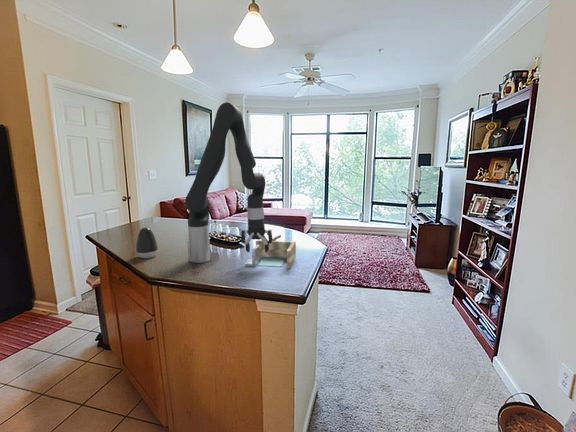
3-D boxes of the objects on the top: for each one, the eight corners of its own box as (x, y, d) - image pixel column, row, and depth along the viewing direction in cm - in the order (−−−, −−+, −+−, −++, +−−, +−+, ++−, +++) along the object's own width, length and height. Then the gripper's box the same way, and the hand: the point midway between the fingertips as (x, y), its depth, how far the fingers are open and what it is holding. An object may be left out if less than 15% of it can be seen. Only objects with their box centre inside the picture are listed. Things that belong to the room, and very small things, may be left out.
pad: (257, 265, 132) (257, 265, 132) (262, 259, 141) (262, 259, 141) (281, 266, 130) (281, 266, 130) (284, 260, 139) (284, 260, 139)
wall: (263, 262, 149) (285, 243, 148) (252, 250, 149) (274, 230, 148) (267, 258, 165) (287, 240, 164) (257, 246, 165) (277, 229, 165)
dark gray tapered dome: (141, 261, 139) (138, 230, 137) (133, 257, 146) (130, 227, 144) (162, 256, 146) (159, 227, 144) (153, 252, 153) (151, 224, 151)
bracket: (255, 266, 131) (255, 249, 129) (244, 266, 132) (244, 249, 130) (260, 261, 139) (259, 245, 137) (250, 260, 139) (249, 244, 138)
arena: (246, 266, 131) (246, 249, 130) (256, 255, 148) (256, 240, 146) (290, 268, 128) (290, 251, 127) (295, 257, 144) (295, 241, 143)
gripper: (272, 216, 134) (274, 249, 137) (243, 216, 136) (244, 249, 139) (269, 218, 127) (270, 254, 130) (238, 218, 129) (240, 253, 132)
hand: (257, 251), depth 134 cm, fingers open, 8 cm apart
